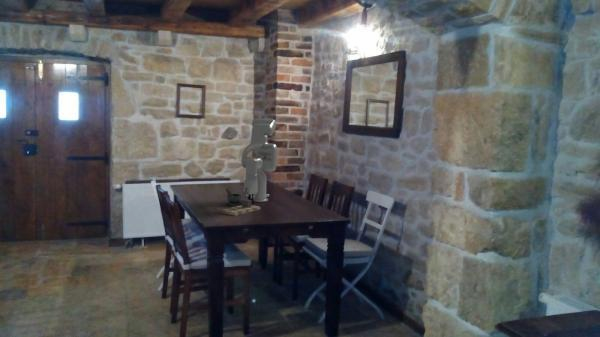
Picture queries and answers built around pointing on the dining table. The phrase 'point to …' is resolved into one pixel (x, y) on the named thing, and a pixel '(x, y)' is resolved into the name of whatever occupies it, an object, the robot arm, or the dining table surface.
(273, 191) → the dining table surface
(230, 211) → the fader board
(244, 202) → the fader knob
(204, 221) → the dining table surface
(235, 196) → the mortar and pestle
